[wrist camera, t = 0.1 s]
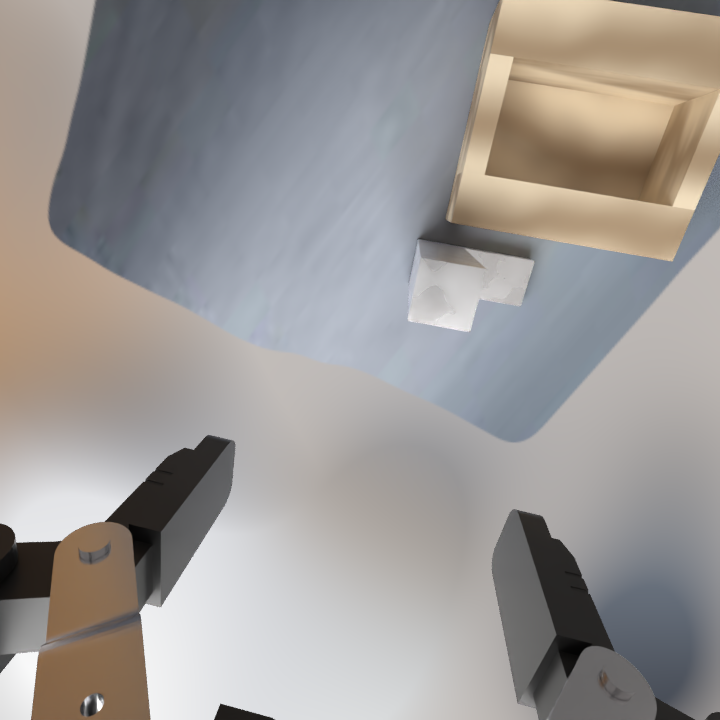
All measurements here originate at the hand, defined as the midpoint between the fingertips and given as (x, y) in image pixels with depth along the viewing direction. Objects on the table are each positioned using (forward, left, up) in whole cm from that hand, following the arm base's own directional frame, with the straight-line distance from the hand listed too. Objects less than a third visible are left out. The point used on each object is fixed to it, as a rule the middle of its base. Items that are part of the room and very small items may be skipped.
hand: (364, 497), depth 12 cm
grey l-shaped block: (-3, +6, -29) cm, 30 cm away
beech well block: (-14, +11, -29) cm, 34 cm away
